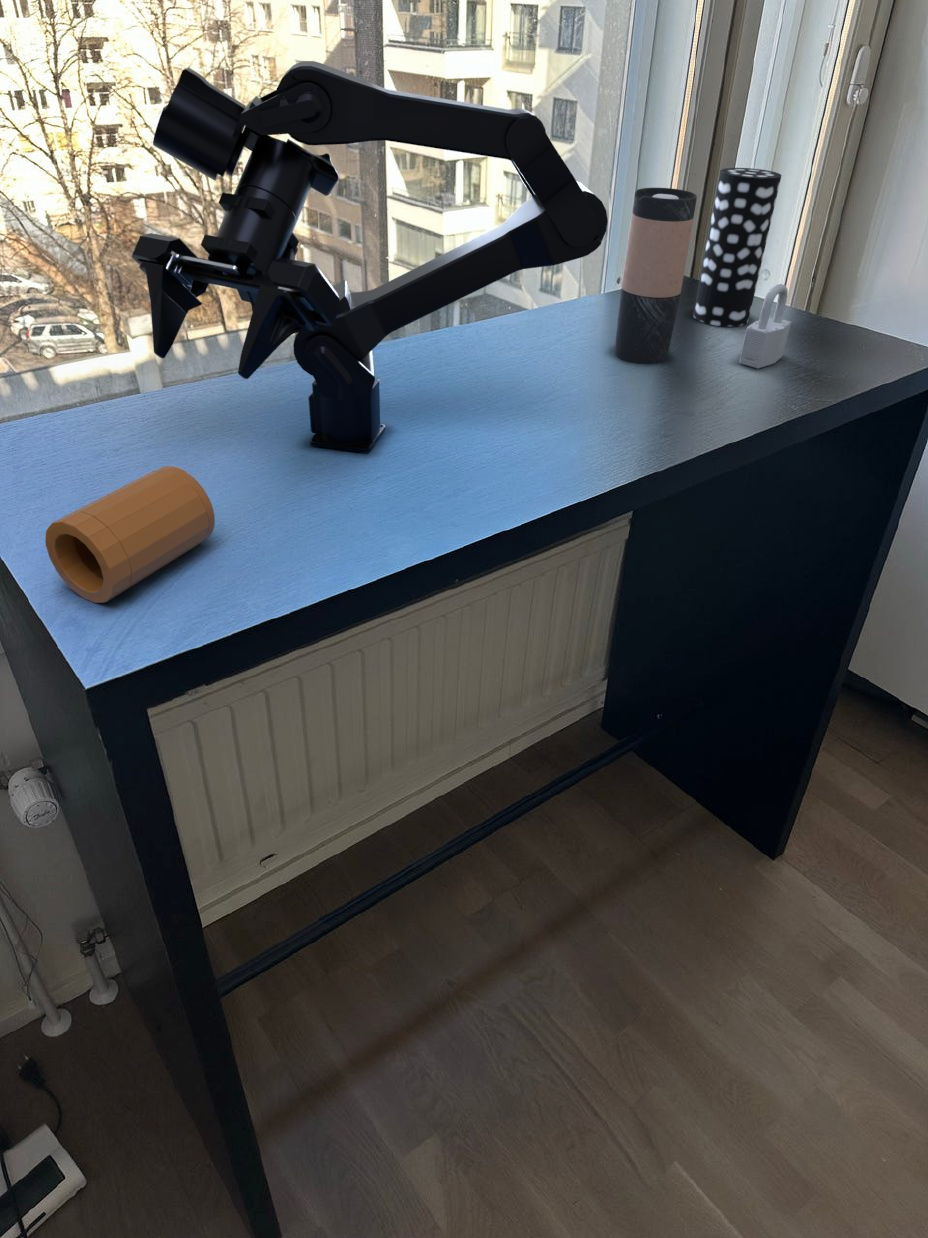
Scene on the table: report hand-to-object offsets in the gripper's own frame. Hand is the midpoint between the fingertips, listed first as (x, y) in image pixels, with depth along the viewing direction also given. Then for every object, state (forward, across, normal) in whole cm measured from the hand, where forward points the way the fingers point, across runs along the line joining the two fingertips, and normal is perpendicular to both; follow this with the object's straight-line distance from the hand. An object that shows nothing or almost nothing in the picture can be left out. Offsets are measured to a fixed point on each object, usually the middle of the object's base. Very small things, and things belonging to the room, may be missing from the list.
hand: (199, 366), depth 75 cm
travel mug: (-33, -24, -50) cm, 65 cm away
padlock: (-38, -38, -55) cm, 77 cm away
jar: (+12, -4, 0) cm, 13 cm away
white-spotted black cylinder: (-50, -29, -66) cm, 88 cm away
